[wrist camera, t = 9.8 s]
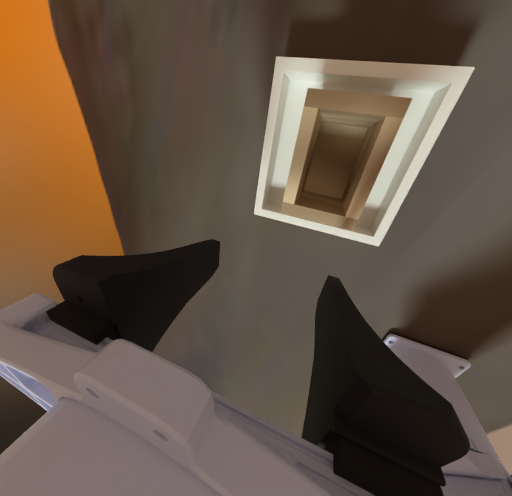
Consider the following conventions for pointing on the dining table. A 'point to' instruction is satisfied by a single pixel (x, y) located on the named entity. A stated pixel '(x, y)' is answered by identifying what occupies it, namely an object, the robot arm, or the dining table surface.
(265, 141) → the white square tray
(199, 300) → the dining table surface
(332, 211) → the pine crate
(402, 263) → the dining table surface
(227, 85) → the dining table surface
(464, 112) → the dining table surface
